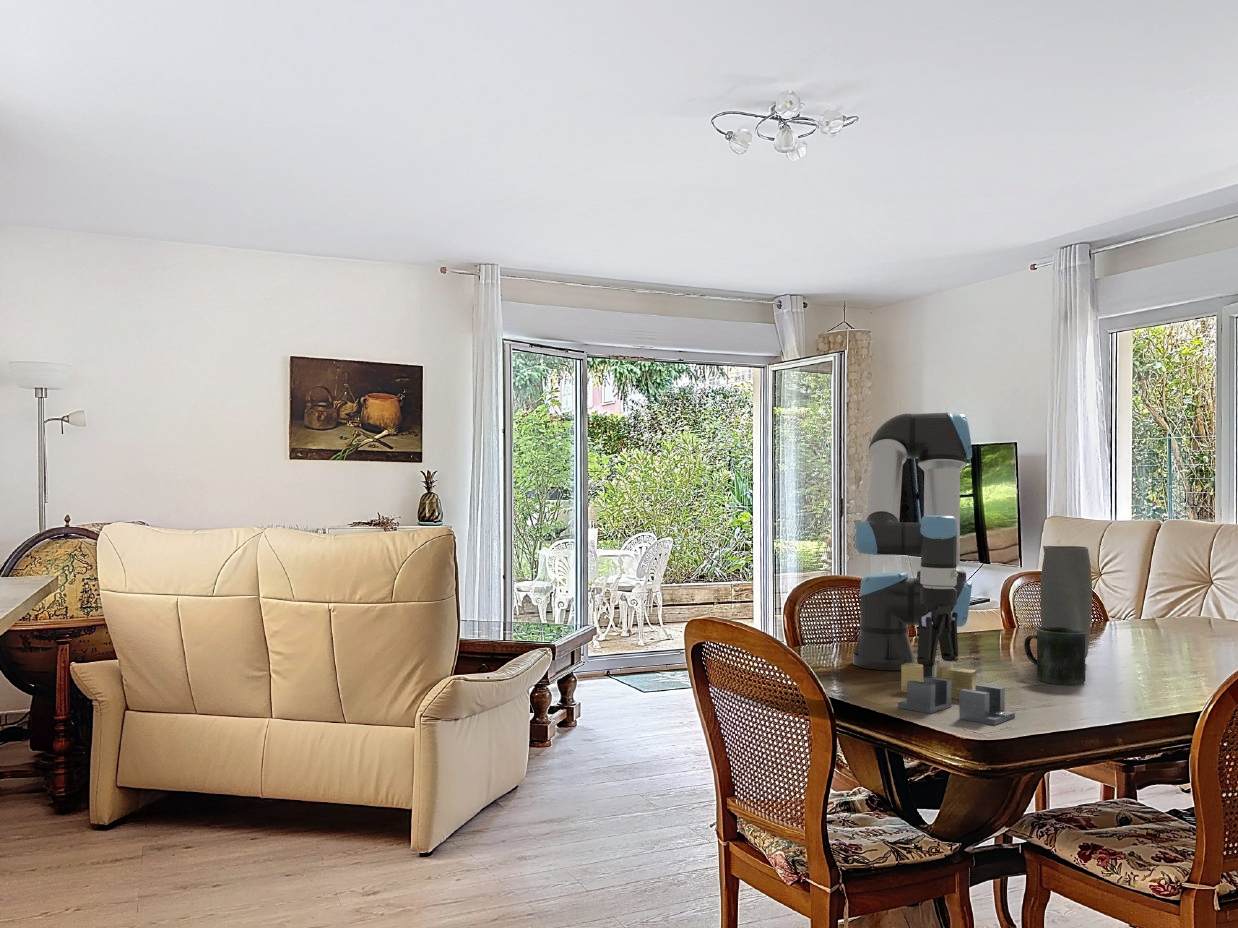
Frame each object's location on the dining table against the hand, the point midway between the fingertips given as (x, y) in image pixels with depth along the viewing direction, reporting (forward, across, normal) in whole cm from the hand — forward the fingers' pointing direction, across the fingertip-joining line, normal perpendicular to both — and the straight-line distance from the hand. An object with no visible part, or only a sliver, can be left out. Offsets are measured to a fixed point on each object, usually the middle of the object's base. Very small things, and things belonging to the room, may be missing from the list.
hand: (937, 693), depth 211 cm
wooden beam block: (+1, 0, 0) cm, 1 cm away
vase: (+1, +63, -4) cm, 63 cm away
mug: (+1, +36, -11) cm, 38 cm away
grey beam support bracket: (0, -14, -16) cm, 21 cm away
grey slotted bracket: (0, -14, -5) cm, 15 cm away
